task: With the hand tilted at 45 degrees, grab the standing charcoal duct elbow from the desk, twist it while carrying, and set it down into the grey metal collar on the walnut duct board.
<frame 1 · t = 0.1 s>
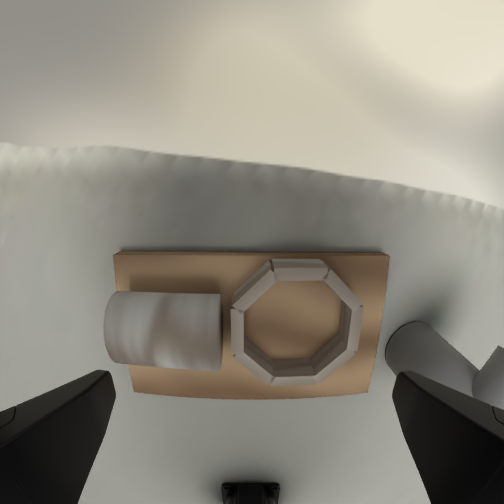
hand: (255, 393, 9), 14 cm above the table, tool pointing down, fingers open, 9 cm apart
elbow: (410, 347, 24), on the table
duct board: (291, 310, 23), on the table
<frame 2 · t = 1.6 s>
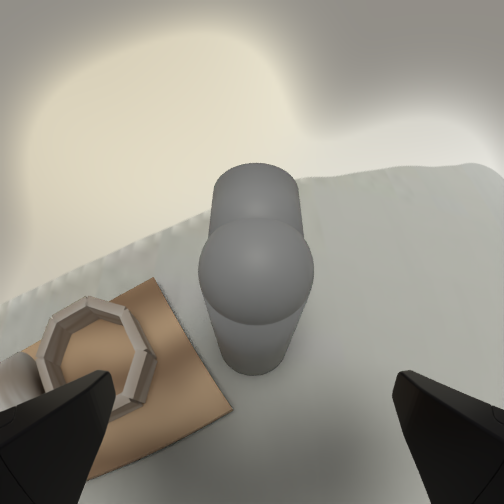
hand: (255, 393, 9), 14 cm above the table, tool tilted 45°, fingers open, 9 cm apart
elbow: (253, 343, 23), on the table
duct board: (106, 368, 21), on the table
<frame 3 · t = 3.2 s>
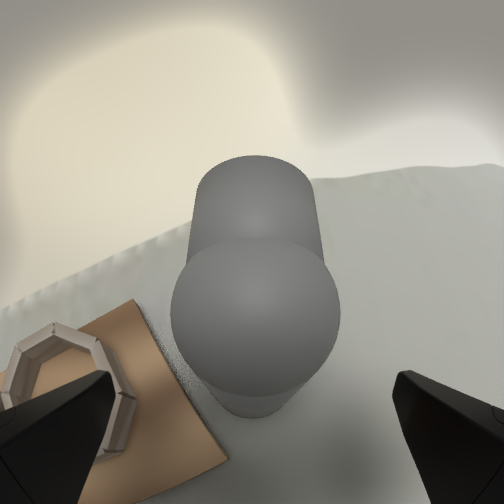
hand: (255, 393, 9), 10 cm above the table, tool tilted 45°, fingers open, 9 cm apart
elbow: (252, 379, 18), on the table
duct board: (81, 404, 17), on the table
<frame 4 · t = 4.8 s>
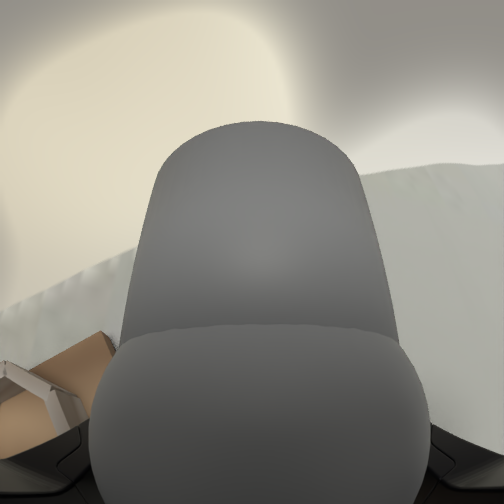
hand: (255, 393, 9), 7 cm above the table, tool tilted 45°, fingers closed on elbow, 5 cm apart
elbow: (252, 436, 13), on the table, touching gripper
duct board: (47, 453, 12), on the table
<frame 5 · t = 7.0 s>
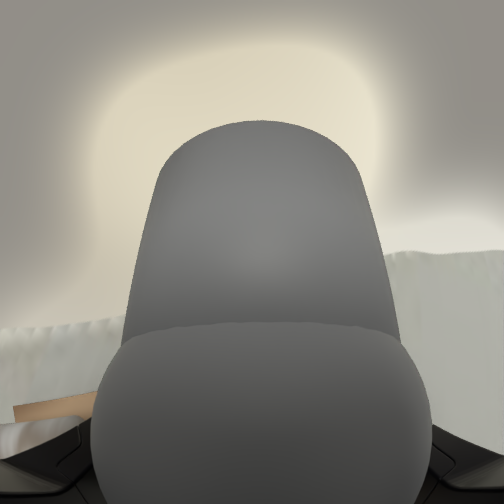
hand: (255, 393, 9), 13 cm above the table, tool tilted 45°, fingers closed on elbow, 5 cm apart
elbow: (253, 436, 13), point 7 cm above the table, touching gripper
duct board: (168, 439, 19), on the table
when the fingers open (9 cm above the table, at t = 9.2 s): elbow drops 1 cm, resting on duct board.
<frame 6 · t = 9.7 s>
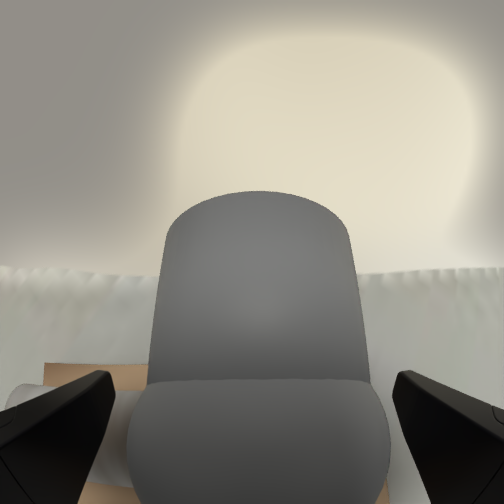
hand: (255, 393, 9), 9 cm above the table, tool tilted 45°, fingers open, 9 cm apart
elbow: (252, 437, 14), point 1 cm above the table, touching duct board
duct board: (252, 435, 16), on the table
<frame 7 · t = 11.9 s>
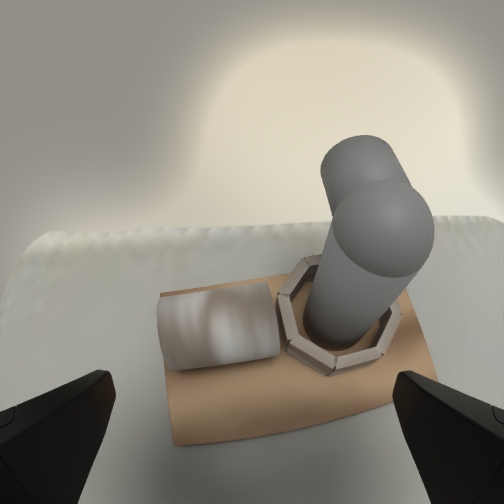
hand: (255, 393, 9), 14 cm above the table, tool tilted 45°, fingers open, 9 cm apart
elbow: (334, 319, 23), point 1 cm above the table, touching duct board
duct board: (331, 324, 24), on the table
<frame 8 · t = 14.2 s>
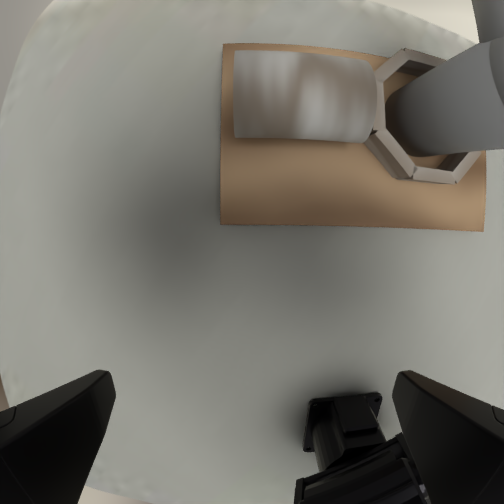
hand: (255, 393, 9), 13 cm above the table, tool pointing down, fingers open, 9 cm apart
elbow: (414, 122, 18), point 1 cm above the table, touching duct board
duct board: (407, 123, 19), on the table
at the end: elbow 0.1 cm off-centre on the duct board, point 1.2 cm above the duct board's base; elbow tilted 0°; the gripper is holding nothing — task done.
